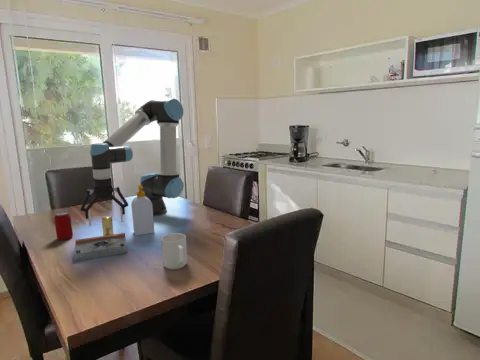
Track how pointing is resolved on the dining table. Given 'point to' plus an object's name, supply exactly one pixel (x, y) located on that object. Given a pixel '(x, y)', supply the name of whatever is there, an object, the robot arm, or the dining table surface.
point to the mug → (174, 251)
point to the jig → (100, 246)
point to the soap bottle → (142, 214)
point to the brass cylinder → (107, 225)
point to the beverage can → (63, 225)
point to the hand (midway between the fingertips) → (106, 223)
